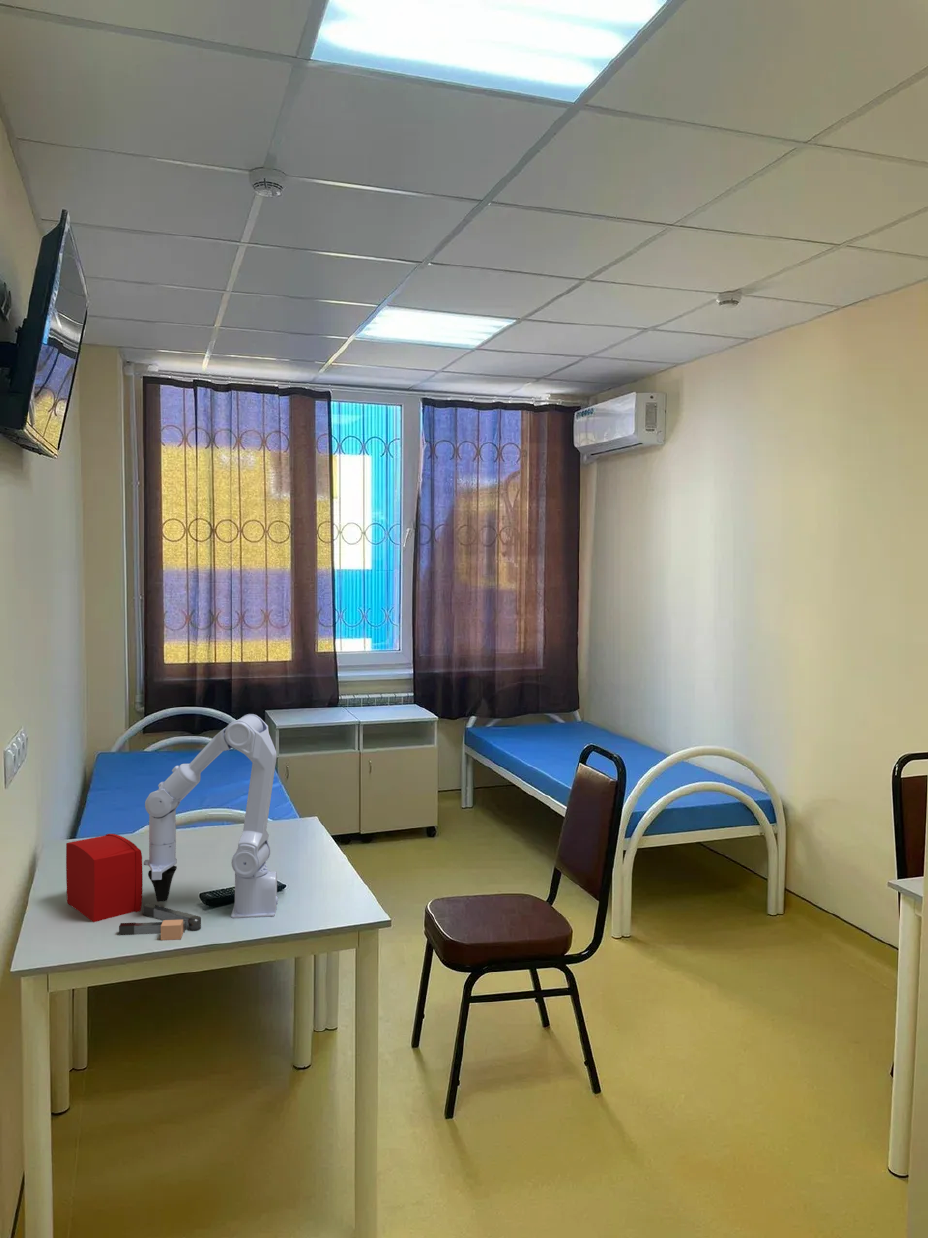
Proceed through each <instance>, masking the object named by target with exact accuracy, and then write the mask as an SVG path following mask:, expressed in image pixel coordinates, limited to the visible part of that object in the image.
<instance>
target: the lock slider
mask: <svg viewBox="0 0 928 1238" xmlns="http://www.w3.org/2000/svg"><path fill="white" fill-rule="evenodd" d="M161 922H162V924H161V934H160V941H170V940H172V941H173V940H182V938H183V934H184V933H183V920H162V921H161Z"/></svg>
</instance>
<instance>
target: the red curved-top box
mask: <svg viewBox="0 0 928 1238" xmlns="http://www.w3.org/2000/svg"><path fill="white" fill-rule="evenodd" d="M65 846H66V848H65V851H66V852H65V871H66V872H65V874H66V877H65V878H66V904H67V905H69V906H70V907H72V908H73V909H75V910H76V911H77V912H79V913H81V914H82V915H83V916H84V917H86V918H87V919H88V920H90V921H91V922H93V923H97V922H100V921H103V920H104V921H105V920H109V919H112V918H115V917H119V916H123V915H127V914H131V913H134V912H135V913H139V912H141V911H142V905H143V881H144V880H143V876H144V875H143V855H142V850H141V849H140V848H139V847H138V846H137V845H136V844H135V843H133V842H132V841H131V840H129V839H128V838H125V837H124V836H121V835H118V834H116V833H107V834H105V835H100V836H96V837H90V838H86V839H80V840H75V841H69V842H66V845H65Z"/></svg>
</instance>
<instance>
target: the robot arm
mask: <svg viewBox="0 0 928 1238" xmlns="http://www.w3.org/2000/svg"><path fill="white" fill-rule="evenodd" d="M269 731H270V730H269V725H268V724H267V723H266V722H265V721H264V720H263V719H262V718H261V717H260V716H258V715H257V714H254V713H248V714H244V715H243V716H242V717H240V718H239V719H237V720H233V721H231V722H230V723H229V724H227V726H226V727H225V728H223V729H221V730H220V731H219V732H218V733H217V734H216V735H214V736H213V737H212V738H211V740H210V741H209V742H208V743H207V744H206V745H205V746H204V747H203V748H202V750H200V752H198V754H197V755H196V756H195V757H194V758H193V760H192V761H190V763H182V764H180V765H175V766H174V767H173V768H172V770H171V772H172V773H171V774H170V775H169V776H168V777H167V778H166V779H165V781H161V782H159V784H158V785H157V787H158V789H156V790H155V791H152V792H150V793H149V794H148V796H147V797H146V799H145V802H144V808H145V811H146V813H147V814H148V820H149V822H148V823H149V824H148V833H149V835H148V840H149V841H148V842H149V843H148V847H149V848H148V851H149V852H148V853H149V854H148V856H149V857H148V859H145V860H144V861H143V866H148V867H149V871H148V872H147V875H148V876H147V877H148V879H149V880H150V882H151V883H152V887H153V889H154V894H155V898H156V901H157V902H158V903H159V902H167V901H168V899H169V896H170V892H171V891H170V890H171V886H172V881H173V878H174V875H175V873H176V871H177V869H178V868H177V865H176V864H177V863H178V860H177V854H176V853H177V851H176V849H177V846H176V845H177V822H176V821H177V820H176V818H177V816H176V815H177V811H176V810H177V808H178V807H179V806H180V804H181V801H182V800H183V799H185V798H186V797H187V795H189V794H190V793H191V792H192V790H193V789H195V788H196V786H197V785H198V784H199V783H200V782H201V773H202V772H203V771H204V770H205V769H206V768H207V767H208V766H209V765H210V764H211V763H212V762H213V761H214V760H216V759H217V758H218V757H219V756H220V755H221V754H222V753H223V752H225V751H230V750H231V749H235V750H237V752H240V753H242V754H244V755H245V757H247V758H248V759H249V761H250V762H251V763H252V764H251V772H250V778H249V786H248V793H247V802H246V805H245V806H246V808H245V815H244V823H243V827H242V833H241V836H240V839H239V840H238V843H237V849H236V851H235V852H234V853H233V855H232V857H231V867H232V870H233V871H234V904H233V907H232V911H231V915H230V918H232V919H236V918H238V919H239V918H242V919H243V918H261V917H262V918H263V917H264V918H265V917H276V912H277V911H276V910H277V906H278V903H279V897H278V872H277V871H274V870H269V869H268V865H267V861H268V860H269V858H270V857H271V856H270V855H271V846H270V843H269V835H270V834H269V833H268V831H267V828H268V820H269V815H270V814H269V813H270V805H271V799H272V793H273V792H272V791H273V787H274V786H273V784H274V777H275V770H276V765H277V763H276V762H277V757H278V755H277V750H276V748H275V745H274V742H273V740H272V737H271V736H270V733H269Z"/></svg>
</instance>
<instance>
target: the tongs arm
mask: <svg viewBox="0 0 928 1238" xmlns="http://www.w3.org/2000/svg"><path fill="white" fill-rule="evenodd" d="M142 910H143V911H142V912H143V913H142V915H143V916H146V917H150V918H154V919H157V920H161V921H163V920H183V921H186V927H187V928H188V930H189V931H190V932H195V931H196V932H197V931H199V930H201V929H202V917H201V916H199V915H196V914H195V915H194V914H192V913H187V912H183V911H180V910H175V909H171V908H168V907H164V906H160V905H158V904H153V903H150V902H149V903H147V904H144V905H143V906H142Z"/></svg>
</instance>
